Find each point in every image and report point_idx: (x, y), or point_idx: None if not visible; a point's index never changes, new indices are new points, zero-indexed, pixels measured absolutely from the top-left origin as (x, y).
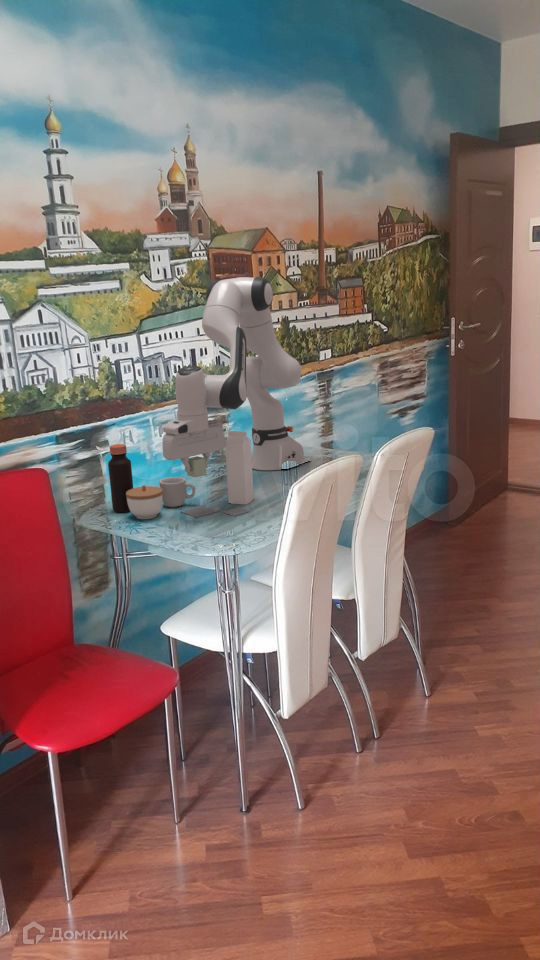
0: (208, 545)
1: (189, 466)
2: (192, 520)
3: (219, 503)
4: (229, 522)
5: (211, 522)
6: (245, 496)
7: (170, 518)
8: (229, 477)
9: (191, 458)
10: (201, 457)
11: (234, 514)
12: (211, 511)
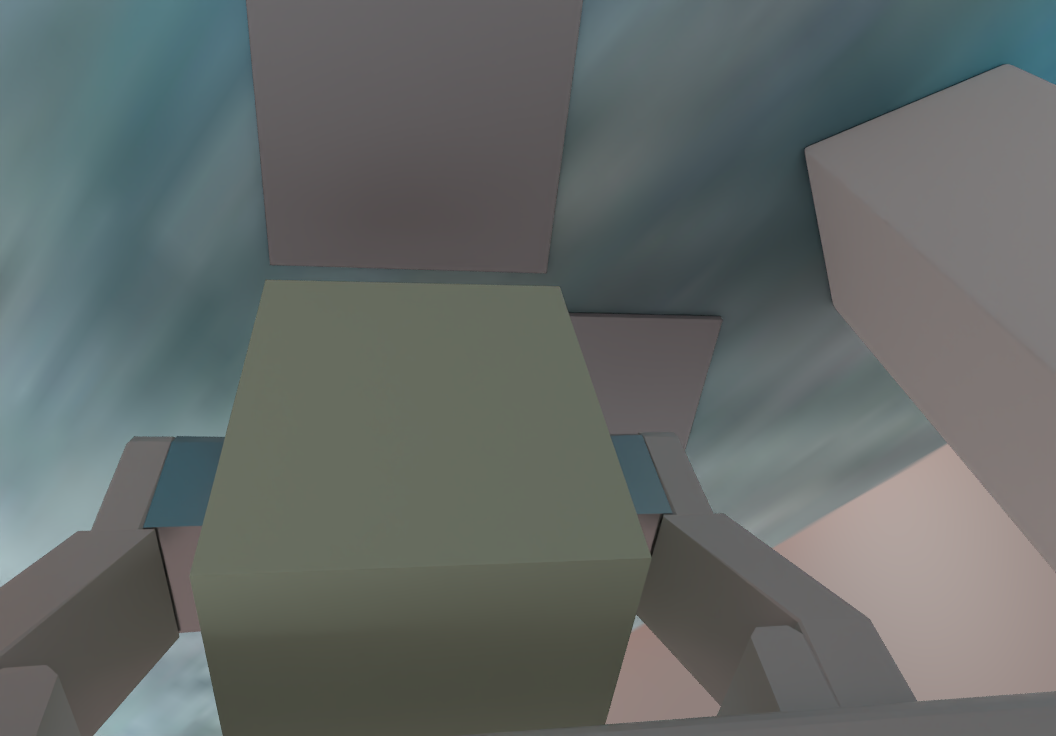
0: None
1: (163, 629)
2: (189, 291)
3: (770, 54)
4: None
5: None
6: (869, 345)
7: (9, 44)
8: (968, 326)
9: (338, 647)
10: (596, 706)
11: None
12: (487, 237)
